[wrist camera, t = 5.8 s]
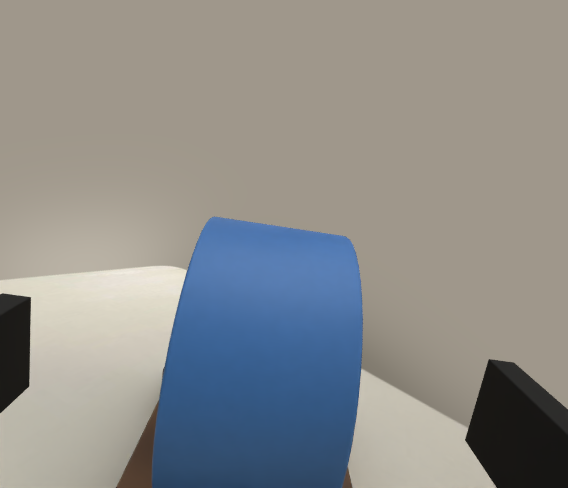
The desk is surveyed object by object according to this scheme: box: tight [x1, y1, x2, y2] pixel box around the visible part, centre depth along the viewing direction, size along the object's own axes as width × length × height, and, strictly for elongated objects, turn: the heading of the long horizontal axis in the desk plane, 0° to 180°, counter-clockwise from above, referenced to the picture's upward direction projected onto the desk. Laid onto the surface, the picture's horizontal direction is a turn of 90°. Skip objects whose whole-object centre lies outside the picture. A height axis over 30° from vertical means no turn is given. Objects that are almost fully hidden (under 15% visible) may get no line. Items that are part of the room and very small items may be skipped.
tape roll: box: [152, 217, 363, 488], centre depth 15 cm, size 10×5×10 cm, turn 1°
